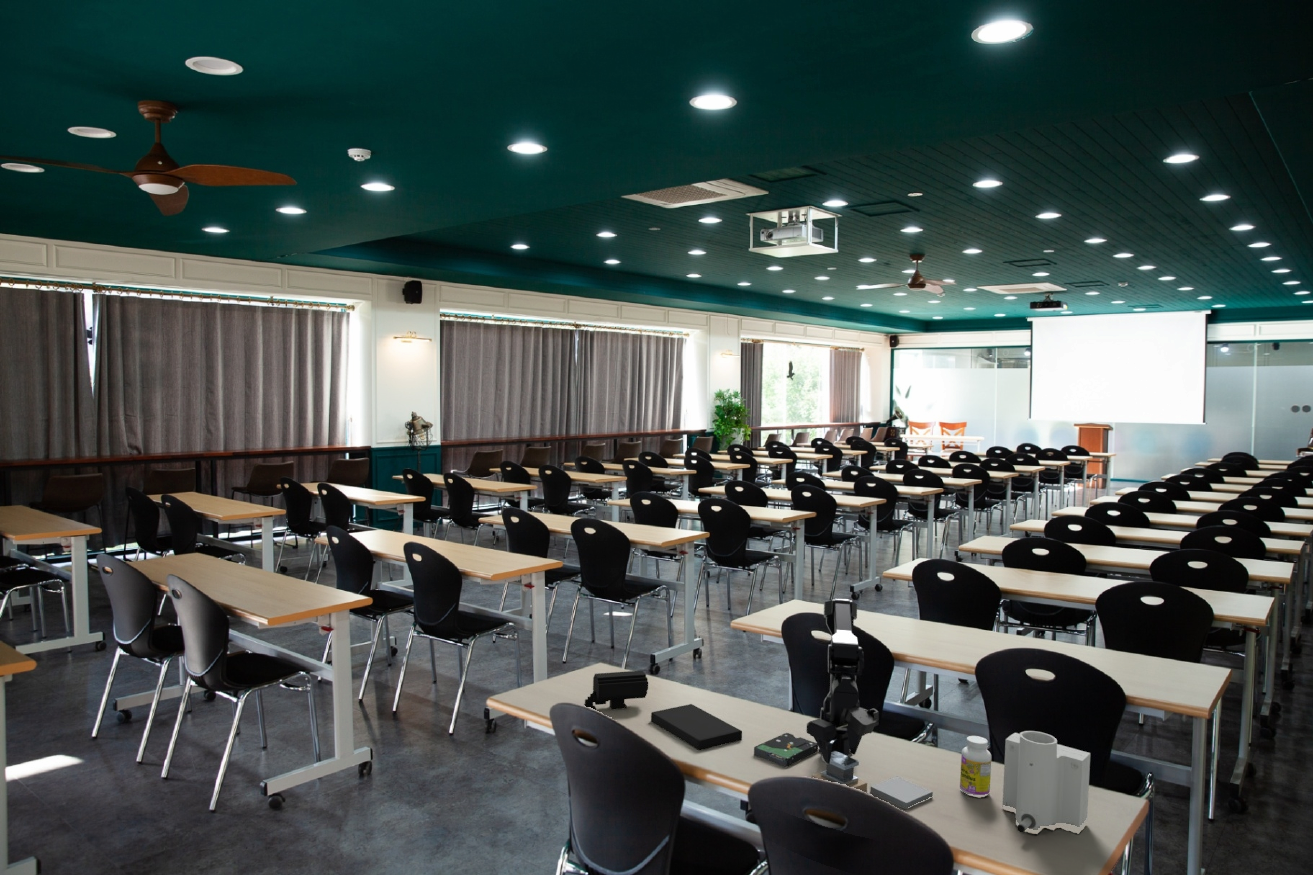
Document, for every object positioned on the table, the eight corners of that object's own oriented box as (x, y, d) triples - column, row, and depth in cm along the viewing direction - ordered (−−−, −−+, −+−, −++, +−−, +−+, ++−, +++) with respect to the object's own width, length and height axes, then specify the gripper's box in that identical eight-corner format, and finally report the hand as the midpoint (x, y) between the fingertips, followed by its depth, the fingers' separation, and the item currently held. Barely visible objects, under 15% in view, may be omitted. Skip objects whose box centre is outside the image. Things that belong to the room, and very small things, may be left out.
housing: (821, 776, 203) (821, 755, 203) (835, 771, 206) (835, 751, 206) (844, 787, 198) (844, 766, 198) (858, 782, 201) (858, 761, 201)
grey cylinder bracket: (1087, 825, 187) (1091, 735, 187) (1060, 857, 173) (1065, 760, 173) (1011, 800, 198) (1015, 716, 197) (981, 828, 184) (985, 737, 183)
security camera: (582, 706, 251) (583, 672, 251) (642, 701, 257) (643, 668, 256) (587, 714, 244) (588, 680, 244) (649, 709, 250) (650, 676, 250)
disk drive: (785, 742, 230) (752, 757, 219) (786, 732, 230) (753, 746, 219) (818, 753, 223) (786, 769, 212) (819, 743, 223) (786, 758, 212)
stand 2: (870, 792, 200) (870, 786, 200) (896, 782, 206) (896, 776, 206) (906, 809, 192) (906, 803, 192) (932, 798, 198) (932, 791, 198)
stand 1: (811, 783, 204) (812, 775, 204) (834, 775, 209) (834, 767, 209) (844, 799, 196) (844, 791, 196) (866, 791, 201) (867, 782, 201)
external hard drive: (699, 752, 221) (699, 740, 221) (650, 722, 241) (651, 712, 241) (741, 741, 229) (742, 730, 229) (691, 713, 249) (692, 703, 248)
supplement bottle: (953, 788, 204) (956, 735, 203) (975, 784, 206) (978, 732, 205) (973, 801, 197) (975, 746, 197) (995, 797, 200) (998, 743, 199)
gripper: (843, 712, 189) (840, 780, 190) (895, 696, 201) (892, 761, 201) (806, 697, 198) (803, 763, 199) (858, 683, 210) (855, 745, 210)
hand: (840, 758), depth 202 cm, fingers open, 9 cm apart
